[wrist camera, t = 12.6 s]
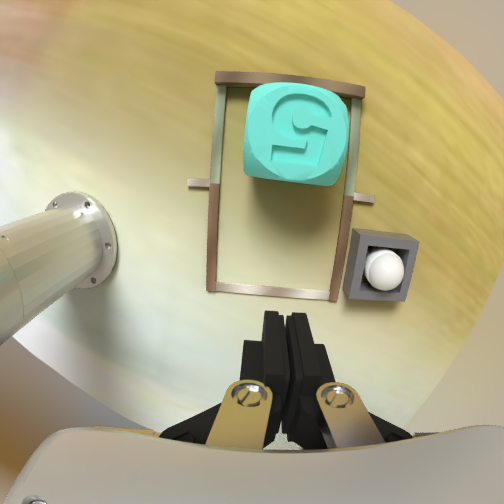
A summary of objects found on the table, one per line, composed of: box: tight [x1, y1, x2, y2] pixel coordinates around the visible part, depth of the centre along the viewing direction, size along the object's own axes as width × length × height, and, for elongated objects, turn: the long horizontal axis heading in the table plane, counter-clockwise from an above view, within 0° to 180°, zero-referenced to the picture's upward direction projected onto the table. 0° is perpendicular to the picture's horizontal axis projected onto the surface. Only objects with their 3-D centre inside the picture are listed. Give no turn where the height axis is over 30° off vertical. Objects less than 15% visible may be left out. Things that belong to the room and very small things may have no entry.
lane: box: [187, 71, 375, 301], centre depth 29 cm, size 20×24×2 cm
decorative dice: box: [243, 82, 349, 186], centre depth 25 cm, size 8×8×8 cm
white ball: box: [363, 246, 404, 291], centre depth 29 cm, size 4×4×4 cm
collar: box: [343, 228, 419, 302], centre depth 30 cm, size 7×7×3 cm
